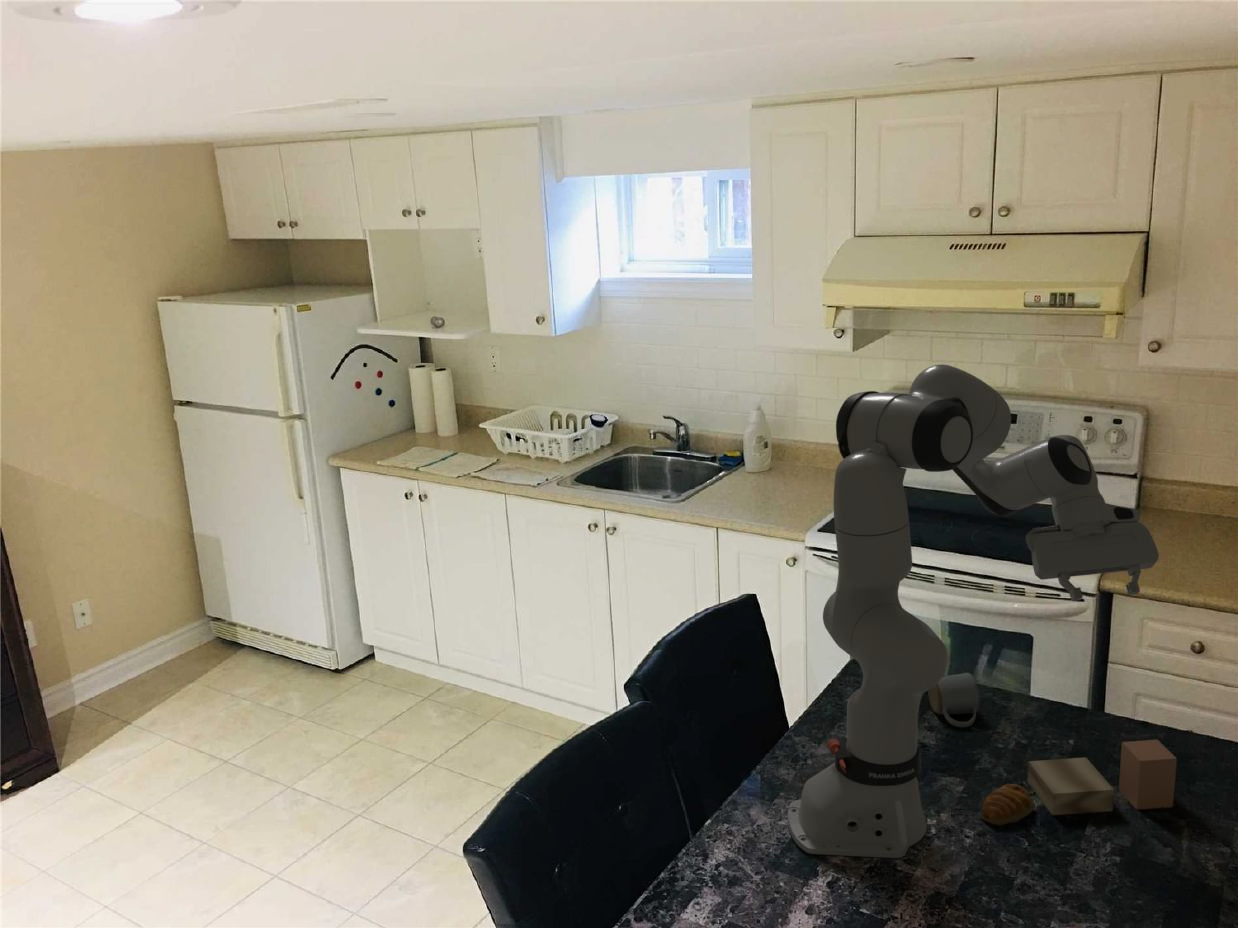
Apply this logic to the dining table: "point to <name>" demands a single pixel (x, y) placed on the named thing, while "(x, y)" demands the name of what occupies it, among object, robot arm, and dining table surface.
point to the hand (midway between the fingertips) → (1105, 596)
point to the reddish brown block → (1147, 774)
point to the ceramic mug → (955, 697)
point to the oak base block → (1070, 786)
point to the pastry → (1007, 805)
